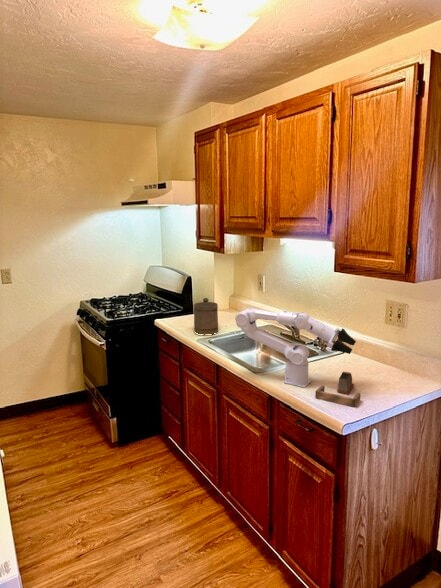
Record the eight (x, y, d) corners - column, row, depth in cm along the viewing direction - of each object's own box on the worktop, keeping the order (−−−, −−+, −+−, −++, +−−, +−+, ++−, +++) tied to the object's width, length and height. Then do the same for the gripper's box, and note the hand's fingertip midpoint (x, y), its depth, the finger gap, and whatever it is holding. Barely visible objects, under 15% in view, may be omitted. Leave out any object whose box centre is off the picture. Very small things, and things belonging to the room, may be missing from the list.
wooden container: (222, 331, 257) (221, 297, 253) (210, 337, 245) (209, 301, 240) (202, 328, 264) (201, 295, 260) (189, 334, 252) (188, 299, 248)
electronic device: (354, 386, 171) (354, 369, 169) (347, 395, 163) (348, 377, 161) (343, 384, 173) (344, 367, 172) (336, 393, 165) (337, 375, 164)
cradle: (315, 398, 160) (315, 391, 160) (321, 391, 166) (321, 384, 166) (355, 407, 152) (355, 400, 151) (360, 400, 158) (360, 393, 157)
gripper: (321, 330, 160) (354, 347, 156) (330, 316, 172) (360, 332, 168) (314, 344, 163) (346, 361, 159) (323, 330, 175) (353, 345, 171)
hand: (353, 347), depth 164 cm, fingers open, 7 cm apart
